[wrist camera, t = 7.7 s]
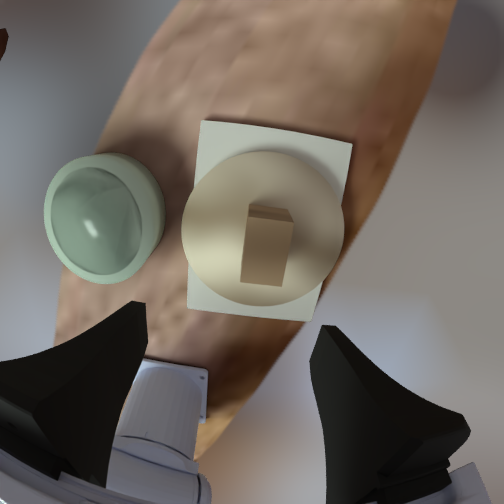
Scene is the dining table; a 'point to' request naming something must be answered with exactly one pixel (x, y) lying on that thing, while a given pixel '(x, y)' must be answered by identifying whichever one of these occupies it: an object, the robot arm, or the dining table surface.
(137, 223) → the bowl
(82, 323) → the dining table surface
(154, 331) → the dining table surface
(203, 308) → the mat
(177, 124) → the dining table surface
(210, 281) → the lid
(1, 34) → the ice cream bowl
